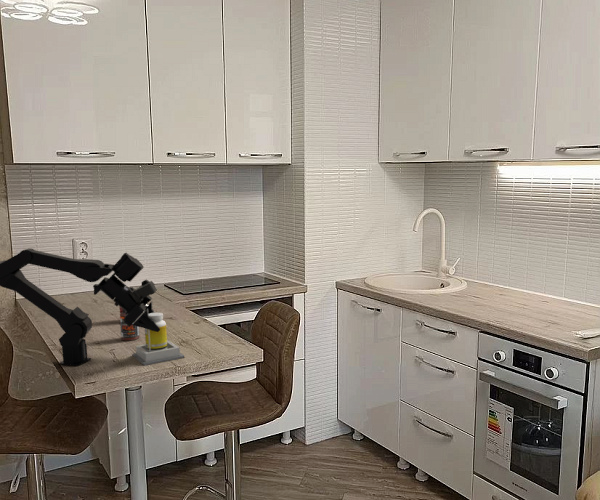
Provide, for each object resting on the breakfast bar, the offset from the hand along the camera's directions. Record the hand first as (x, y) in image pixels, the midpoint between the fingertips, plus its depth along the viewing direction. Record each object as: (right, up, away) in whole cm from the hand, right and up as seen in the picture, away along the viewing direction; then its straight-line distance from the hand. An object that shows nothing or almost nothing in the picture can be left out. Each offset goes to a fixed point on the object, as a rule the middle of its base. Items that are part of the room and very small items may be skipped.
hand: (160, 328), depth 171 cm
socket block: (-1, -9, +1) cm, 9 cm away
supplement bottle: (-15, -7, +22) cm, 28 cm away
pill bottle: (-1, -7, +1) cm, 7 cm away
